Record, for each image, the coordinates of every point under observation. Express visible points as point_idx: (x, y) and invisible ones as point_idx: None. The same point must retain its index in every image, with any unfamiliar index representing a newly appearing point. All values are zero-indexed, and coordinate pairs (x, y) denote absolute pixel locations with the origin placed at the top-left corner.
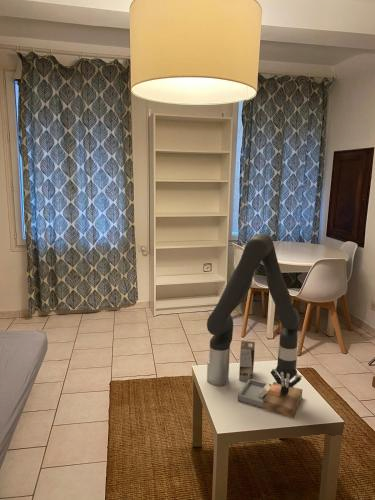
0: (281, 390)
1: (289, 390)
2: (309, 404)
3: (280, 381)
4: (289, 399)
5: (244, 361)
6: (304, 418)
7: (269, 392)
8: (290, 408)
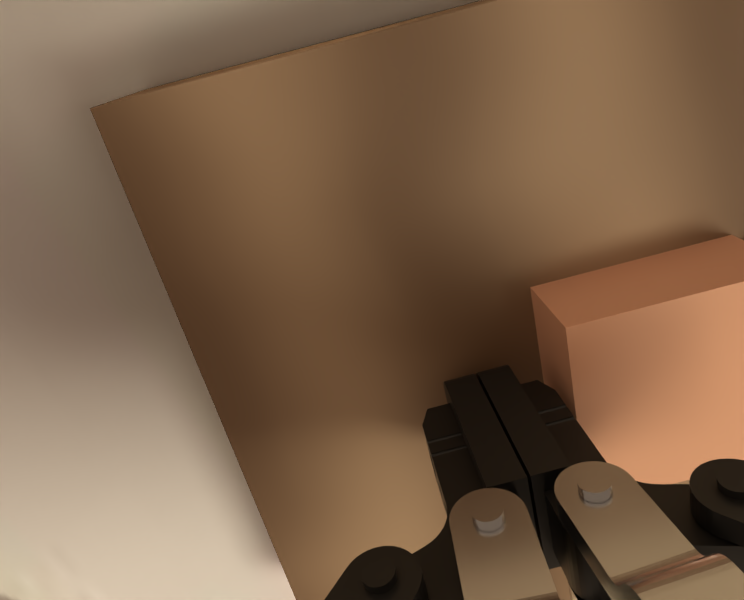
0: (557, 405)
1: None
2: (181, 516)
3: (710, 552)
4: (342, 335)
5: None
6: (29, 209)
7: (736, 247)
8: (170, 86)
